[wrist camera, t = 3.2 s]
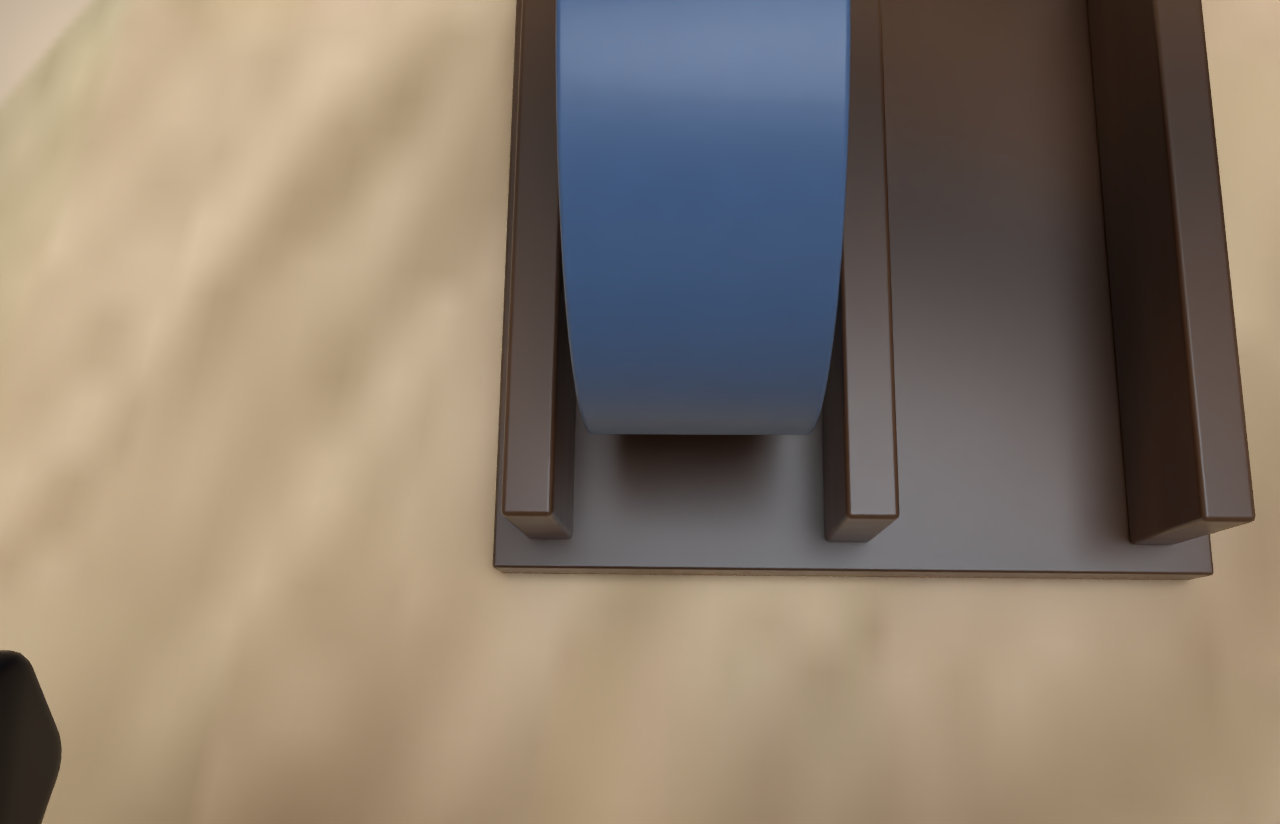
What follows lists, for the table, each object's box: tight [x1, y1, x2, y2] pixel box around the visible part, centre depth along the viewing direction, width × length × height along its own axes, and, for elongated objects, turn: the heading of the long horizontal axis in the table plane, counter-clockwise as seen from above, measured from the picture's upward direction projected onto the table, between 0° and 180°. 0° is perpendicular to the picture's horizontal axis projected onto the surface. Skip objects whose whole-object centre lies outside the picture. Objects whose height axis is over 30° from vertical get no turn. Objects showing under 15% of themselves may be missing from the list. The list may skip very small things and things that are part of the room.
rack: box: [493, 0, 1255, 580], centre depth 21 cm, size 12×12×4 cm
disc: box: [556, 0, 851, 435], centre depth 17 cm, size 9×3×9 cm, turn 179°
